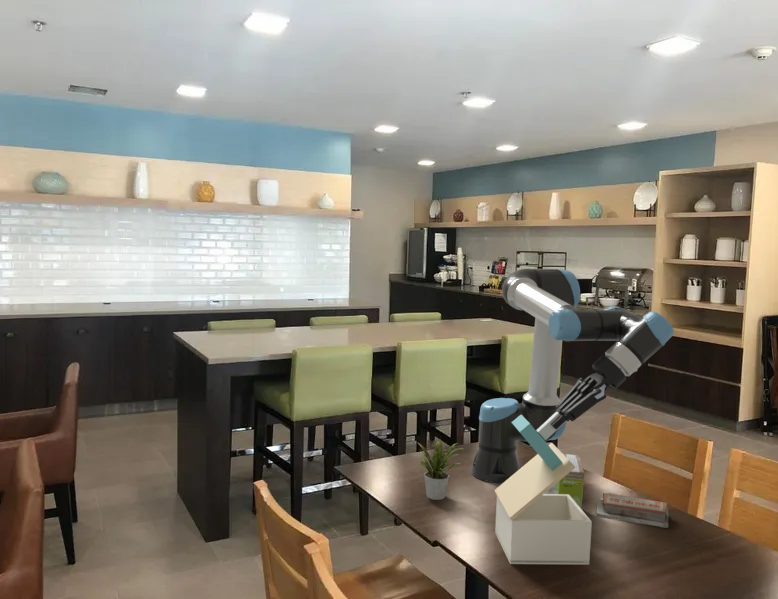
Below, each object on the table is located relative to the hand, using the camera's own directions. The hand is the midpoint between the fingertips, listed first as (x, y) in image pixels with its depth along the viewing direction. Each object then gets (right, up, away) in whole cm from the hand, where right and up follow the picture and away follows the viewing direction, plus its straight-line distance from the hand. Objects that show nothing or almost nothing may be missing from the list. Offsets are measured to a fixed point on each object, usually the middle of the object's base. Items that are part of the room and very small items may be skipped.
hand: (541, 435), depth 153 cm
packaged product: (+30, -27, +24) cm, 47 cm away
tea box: (+10, -26, +23) cm, 36 cm away
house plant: (-21, -24, +31) cm, 45 cm away
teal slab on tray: (-1, -11, +1) cm, 11 cm away
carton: (0, -27, +2) cm, 27 cm away
